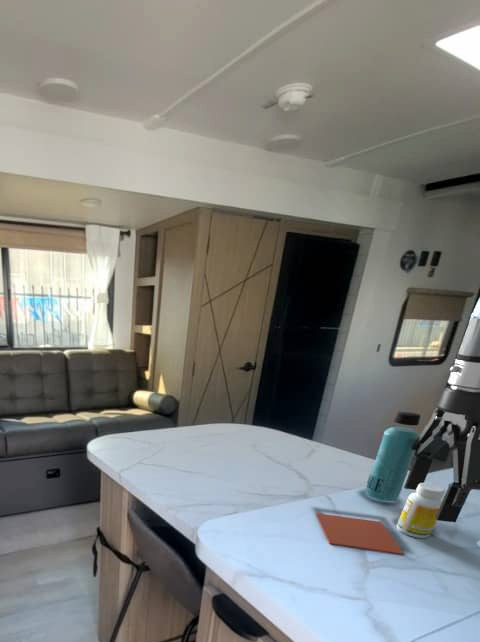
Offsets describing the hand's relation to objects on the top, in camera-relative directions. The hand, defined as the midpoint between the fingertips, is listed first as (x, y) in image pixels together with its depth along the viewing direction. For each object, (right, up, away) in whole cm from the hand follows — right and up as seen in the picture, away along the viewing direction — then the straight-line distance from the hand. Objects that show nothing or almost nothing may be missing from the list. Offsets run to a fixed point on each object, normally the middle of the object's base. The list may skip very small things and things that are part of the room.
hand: (427, 503), depth 76 cm
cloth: (-12, -6, +2) cm, 14 cm away
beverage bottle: (+1, 0, +15) cm, 15 cm away
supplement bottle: (-1, -6, +3) cm, 6 cm away
